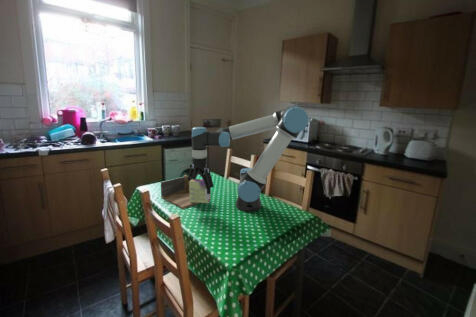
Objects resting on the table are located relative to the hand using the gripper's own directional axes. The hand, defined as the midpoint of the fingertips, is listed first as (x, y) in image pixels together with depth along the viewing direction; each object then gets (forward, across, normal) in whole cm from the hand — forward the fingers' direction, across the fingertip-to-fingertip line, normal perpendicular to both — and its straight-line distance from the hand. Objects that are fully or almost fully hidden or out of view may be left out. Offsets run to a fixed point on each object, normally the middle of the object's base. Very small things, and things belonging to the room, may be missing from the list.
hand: (200, 196), depth 138 cm
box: (+3, 0, 0) cm, 3 cm away
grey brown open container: (+9, +22, -4) cm, 24 cm away
